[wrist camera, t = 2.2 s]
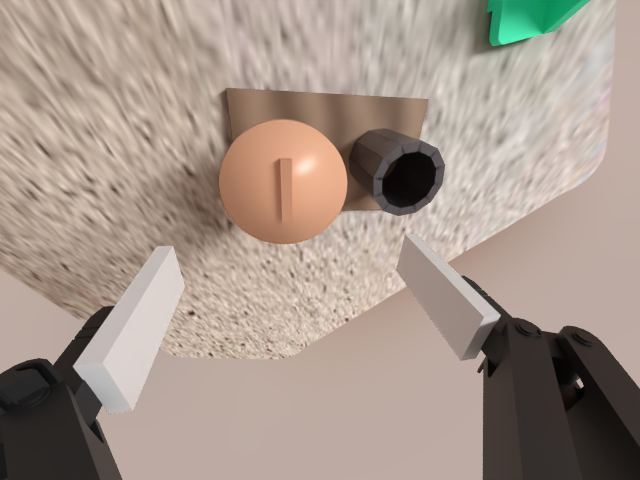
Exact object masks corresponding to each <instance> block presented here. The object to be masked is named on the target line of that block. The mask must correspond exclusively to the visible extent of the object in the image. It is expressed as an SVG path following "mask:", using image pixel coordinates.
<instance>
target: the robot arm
mask: <svg viewBox="0 0 640 480" xmlns="http://www.w3.org/2000/svg"><path fill="white" fill-rule="evenodd" d="M396 271H397V272H398V273H399V275H400V276H401V278H402V279H403V280H404V282H405V283H406V285H407V286H408V287H409V289H410V290H411V292H412V293H413V295H414V296H415V297H416V299H417V300H418V302H419V303H420V304H421V306H422V307H423V308H424V310H425V311H426V312H427V314H428V316H429V317H430V318H431V320H432V321H433V323H434V324H435V325H436V327H437V328H438V330H439V331H440V332H441V334H442V335H443V337H444V338H445V339H446V341H447V342H448V344H449V345H450V346H451V348H452V349H453V350H454V352H455V353H456V355H457V356H458V357H459V359H460V360H461V361H462V360H467V359H475V358H476V357H477V355H478V353H479V352H480V350H482V351H483V353H484V354H485V355H486V357H485V359H484V360H483V362H482V363H481V365H480V367H479V368H478V371H477V372H478V373H480V372H481V371H482V369H483V370H484V371H483V373H484V375H483V377H484V378H483V480H640V389H639V388H638V386H637V385H636V383H635V382H634V381H633V380H632V379H631V377H630V376H629V375H628V373H627V372H626V371H625V370H624V369H623V367H622V366H621V365H620V364H619V362H618V361H617V360H616V359H615V358H614V356H613V355H612V354H611V352H610V351H609V350H608V349H607V347H606V346H605V345H604V344H603V343H602V342H601V341H600V340H599V339H598V338H597V337H595V336H594V335H593V334H591V333H590V332H588V331H585V330H584V329H581V328H578V327H575V326H565V327H563V328H562V329H561V331H560V332H559V333H551V332H545V331H541V330H540V329H539V328H538V327H537V326H536V325H534V324H533V323H531V322H529V321H526V320H524V319H520V318H512V317H511V316H510V315H509V314H508V313H507V312H506V311H505V310H504V309H503V308H502V307H501V306H500V305H498V304H497V303H496V302H495V301H494V300H493V299H492V298H491V297H490V296H488V294H487V293H486V292H485V291H483V290H482V289H481V288H480V287H479V286H478V285H477V284H476V283H475V282H474V281H472V280H470V279H468V278H467V277H465V276H460V275H459V274H458V273H457V272H456V271H455V270H454V269H453V268H452V267H451V266H449V265H448V264H447V263H446V262H445V261H444V260H443V259H442V258H441V257H440V256H439V255H438V254H437V253H436V252H435V251H434V250H433V249H432V248H431V247H430V246H429V245H428V244H427V243H426V242H425V241H424V240H423V239H422V238H421V237H420V236H418V235H417V234H405V237H404V241H403V245H402V249H401V253H400V257H399V261H398V265H397V269H396ZM184 287H185V285H184V282H183V278H182V275H181V271H180V268H179V265H178V261H177V258H176V254H175V251H174V247H173V246H157V247H156V248H155V250H154V251H153V253H152V254H151V255H150V257H149V258H148V260H147V261H146V263H145V264H144V265H143V267H142V268H141V270H140V271H139V273H138V274H137V275H136V277H135V278H134V280H133V281H132V283H131V284H130V285H129V287H128V288H127V290H126V291H125V293H124V294H123V295H122V297H121V298H120V300H119V301H118V303H117V304H116V305H115V306H107V307H103V308H101V309H100V310H99V311H98V312H96V313H95V314H94V315H92V316H91V317H90V318H89V320H88V321H87V322H86V323H85V325H84V326H83V327H82V330H80V331H79V333H78V334H77V335H76V336H75V339H74V340H72V341H71V343H70V344H69V345H68V347H67V348H66V349H65V351H64V352H63V353H62V354H61V356H60V357H59V358H58V360H57V361H56V362H55V363H54V365H52V364H51V363H50V362H49V361H48V360H47V359H40V358H38V359H33V360H28V361H25V362H23V363H20V364H18V365H15V366H13V367H12V368H10V369H8V370H6V371H4V372H3V373H1V374H0V480H122V478H121V475H120V473H119V470H118V468H117V465H116V463H115V460H114V458H113V456H112V453H111V451H110V448H109V446H108V444H107V441H106V439H105V437H104V434H103V431H102V429H101V427H100V424H99V422H98V421H97V419H96V416H97V414H98V412H99V410H100V409H101V407H102V406H103V408H104V409H105V410H106V412H107V413H108V414H114V413H120V412H127V411H133V409H134V407H135V404H136V402H137V400H138V397H139V395H140V392H141V390H142V388H143V385H144V383H145V380H146V378H147V375H148V373H149V371H150V369H151V366H152V364H153V361H154V359H155V356H156V354H157V352H158V349H159V347H160V345H161V342H162V340H163V337H164V335H165V333H166V330H167V328H168V325H169V323H170V321H171V318H172V316H173V313H174V311H175V309H176V306H177V304H178V301H179V299H180V297H181V294H182V292H183V289H184ZM579 378H580V379H581V381H582V383H583V385H584V387H583V388H580V386H579V385H578V384H577V382H576V381H577V380H578V379H579Z"/></svg>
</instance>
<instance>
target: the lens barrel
mask: <svg viewBox="0 0 640 480" xmlns="http://www.w3.org/2000/svg"><path fill="white" fill-rule="evenodd" d="M396 159H397V163H396V165H395V167H394V169H393V170H392V172H391V173H390V174H389V175H388V176H386V177H385V178H384V179H382V178H383V176H384V175H385V173H386V171H387V169H388V167H389V165H390V164H391V163H392V162H393V161H395V160H396ZM444 169H445V164H444V161H443V159H442V157H441V155H440V152H439V150H438V149H437V148H435V147H433V146H431V145H429V144H427V143H425V142H423V141H421V140H418V139H415V138H412V137H409V136H407V135H404V134H401V133H398V132H395V131H392V130H389V129H386V128H380V129H374V130H369V131H367V132H366V133H365V134H364V135H363V136H361V137H360V138H359V139H358V140H356V141H355V144H354V146H353V148H352V150H351V152H350V155H349V172H350V174H351V175H352V177H353V178H354V179H355V181H356V182H357V184H358V185H359V186H360V187H361V188H362V189H363V190H364V191H365V192H366V193H367V194H368V195H369V196H370V197H371V199H372V200H373V201H374V202H375V203H376V204H377V205H378V206H379V207H380V208H381V209H382V210H383V211H385V212H388V213H391V214H394V215H397V216H400V215H405V214H410V213H415V212H417V211H418V210H420V209H421V208H422V207H424V206H425V205H427V204H428V203H429V202H431V201H432V199H433V198H434V196H435V195H436V193H437V192H438V190H439V188H440V187H441V185H442V183H443V176H444Z"/></svg>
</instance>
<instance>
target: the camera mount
mask: <svg viewBox="0 0 640 480" xmlns="http://www.w3.org/2000/svg"><path fill="white" fill-rule="evenodd" d="M589 1H590V0H488V8H487V12H491V11H492V19H491V27H490V36H489V42H490V44H491V45H492V46H498V45H503V44H508V43H511V42H515V41H519V40H523V39H526V38H530V37H534V36H538V35H541V34H545V33H549V32H552V31H555V30H556V29H557V28H558V27H560V26H561V25H562V24H563V23H564V22H565V21H567V20H568V19H569V18H570V17H571V16H572V15H574V14H575V13H576V12H577V11H578V10H579V9H581V8H582V7H583V6H584V5H585V4H586V3H588V2H589Z"/></svg>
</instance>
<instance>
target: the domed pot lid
mask: <svg viewBox="0 0 640 480" xmlns="http://www.w3.org/2000/svg"><path fill="white" fill-rule="evenodd" d="M219 189H220V195H221V199H222V202H223V204H224V207H225V209H226V211H227V213H228V214H229V216H230V217H231V218H232V220H233V221H234V222H235V223H236V224H237V225H238V226H239V227H240V228H241V229H242V230H243V231H245V232H246V233H248V234H249V235H251V236H253V237H255V238H257V239H259V240H262V241H265V242H270V243H275V244H293V243H298V242H302V241H305V240H308V239H310V238H313V237H315V236H316V235H318V234H320V233H321V232H323V231H324V230H325V229H326V228H327V227H329V226H330V225H331V224H332V222H333V221H334V220H335V219H336V217H337V216H338V214H339V213H340V211H341V209H342V206H343V204H344V201H345V198H346V193H347V174H346V169H345V165H344V163H343V160H342V158H341V156H340V154H339V152H338V151H337V149H336V148H335V146H334V145H333V144H332V143H331V142H330V141H329V140H328V139H327V138H326V137H325V136H324V135H323V134H322V133H320V132H319V131H318V130H316V129H315V128H313V127H311V126H310V125H308V124H305V123H303V122H300V121H296V120H292V119H271V120H266V121H263V122H260V123H257V124H255V125H253V126H251V127H249V128H248V129H247V130H245V131H244V132H243V133H241V134H240V135H239V136H238V137H237V138H236V140H235V141H234V142H233V144H232V145H231V147H230V148H229V150H228V152H227V153H226V155H225V157H224V160H223V162H222V165H221V169H220V174H219Z"/></svg>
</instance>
